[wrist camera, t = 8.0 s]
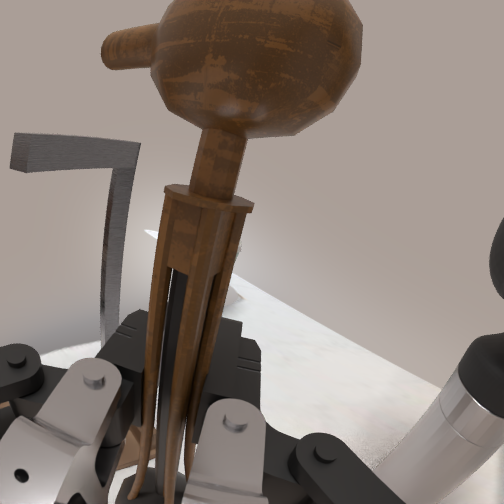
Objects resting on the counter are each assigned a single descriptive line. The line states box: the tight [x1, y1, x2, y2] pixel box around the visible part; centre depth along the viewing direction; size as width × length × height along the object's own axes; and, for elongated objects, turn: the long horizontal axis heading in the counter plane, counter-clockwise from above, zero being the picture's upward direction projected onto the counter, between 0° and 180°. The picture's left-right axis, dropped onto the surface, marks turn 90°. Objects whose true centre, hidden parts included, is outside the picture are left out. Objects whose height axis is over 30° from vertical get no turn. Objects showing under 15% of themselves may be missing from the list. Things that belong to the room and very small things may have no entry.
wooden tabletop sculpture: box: [101, 0, 363, 504], centre depth 7 cm, size 6×5×20 cm
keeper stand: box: [0, 133, 156, 470], centre depth 15 cm, size 19×11×27 cm, turn 132°
